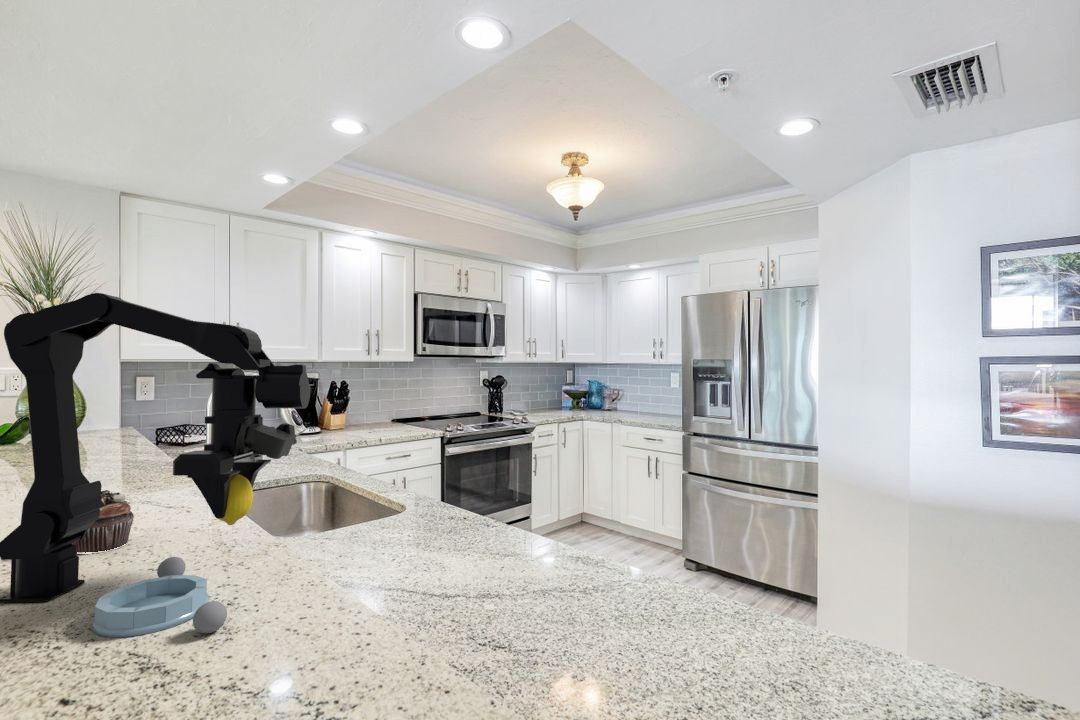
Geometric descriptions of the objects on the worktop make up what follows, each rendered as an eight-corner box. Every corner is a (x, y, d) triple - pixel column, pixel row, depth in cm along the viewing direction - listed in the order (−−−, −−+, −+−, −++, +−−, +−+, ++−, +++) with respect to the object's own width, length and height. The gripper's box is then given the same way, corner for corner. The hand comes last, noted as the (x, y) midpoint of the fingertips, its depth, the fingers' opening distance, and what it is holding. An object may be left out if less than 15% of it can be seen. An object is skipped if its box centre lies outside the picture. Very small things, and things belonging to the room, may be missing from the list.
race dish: (65, 638, 60) (66, 614, 60) (140, 594, 72) (140, 574, 72) (170, 636, 61) (170, 612, 61) (227, 593, 73) (227, 573, 73)
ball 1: (151, 585, 76) (151, 561, 76) (167, 576, 79) (167, 553, 79) (175, 585, 76) (176, 561, 76) (190, 576, 79) (191, 553, 79)
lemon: (232, 531, 74) (234, 475, 74) (200, 529, 75) (201, 474, 75) (260, 521, 79) (262, 469, 79) (230, 519, 80) (231, 467, 81)
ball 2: (185, 639, 60) (186, 609, 60) (203, 624, 64) (204, 596, 64) (216, 638, 60) (216, 608, 60) (232, 624, 64) (233, 596, 64)
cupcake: (146, 541, 96) (148, 487, 96) (91, 558, 86) (93, 499, 87) (106, 537, 98) (108, 484, 98) (48, 554, 89) (50, 496, 89)
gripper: (257, 413, 69) (254, 530, 68) (312, 405, 87) (310, 497, 87) (171, 413, 68) (168, 531, 68) (245, 405, 87) (243, 498, 86)
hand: (231, 512), depth 77 cm, fingers closed on lemon, 5 cm apart
